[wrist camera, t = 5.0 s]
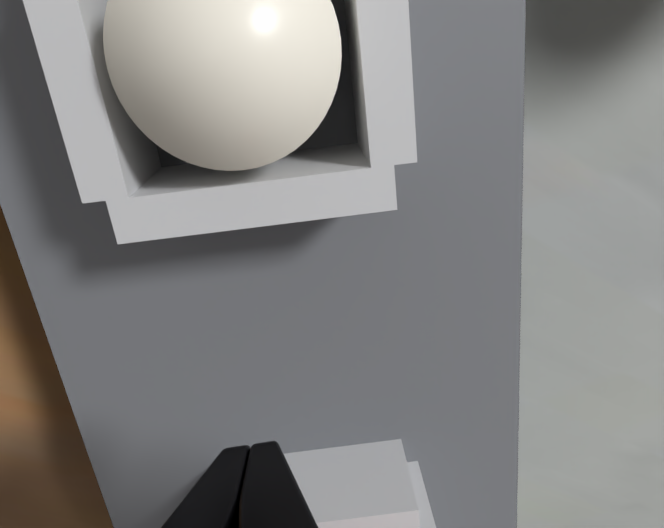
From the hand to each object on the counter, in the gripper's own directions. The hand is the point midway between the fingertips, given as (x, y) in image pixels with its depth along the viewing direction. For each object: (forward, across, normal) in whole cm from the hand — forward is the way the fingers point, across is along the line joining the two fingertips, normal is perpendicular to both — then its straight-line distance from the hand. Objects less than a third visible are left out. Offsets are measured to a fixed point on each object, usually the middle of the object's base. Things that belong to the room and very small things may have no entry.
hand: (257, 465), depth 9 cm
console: (+12, 0, +2) cm, 12 cm away
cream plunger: (+8, 0, -6) cm, 10 cm away
